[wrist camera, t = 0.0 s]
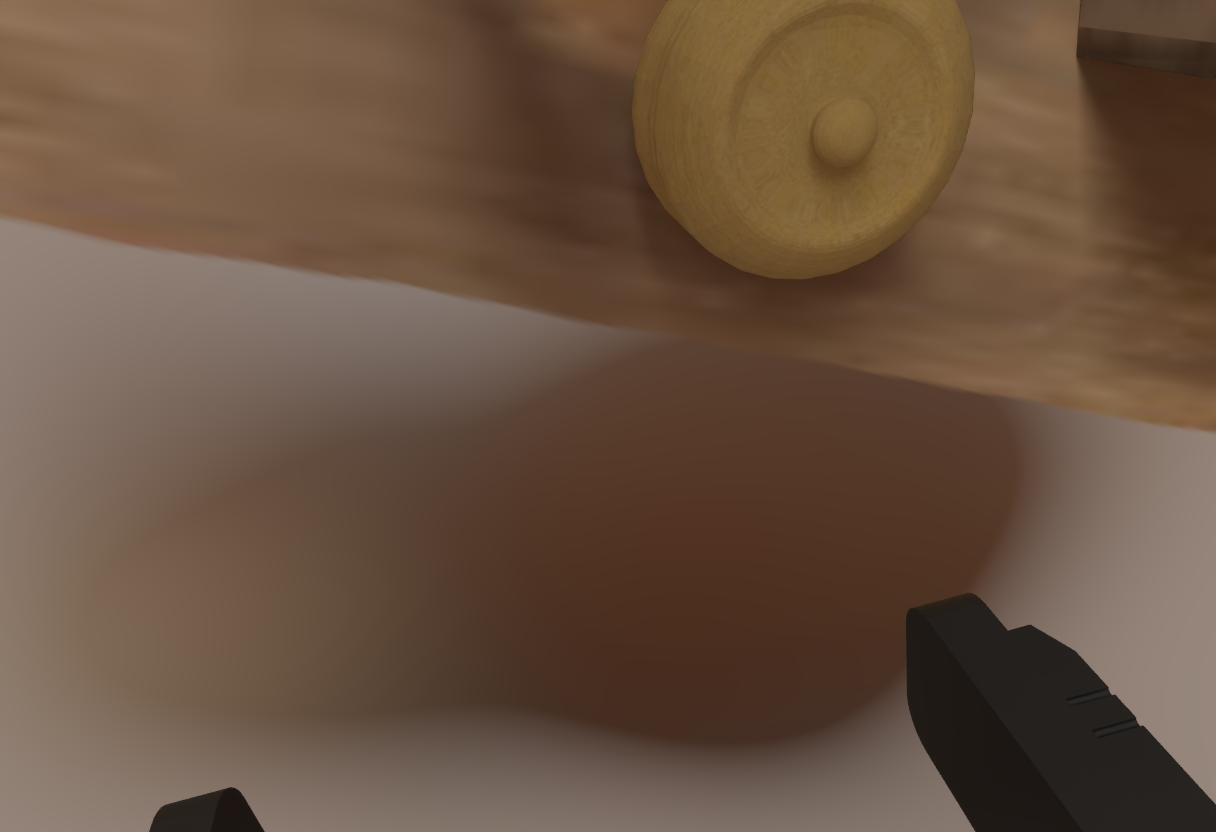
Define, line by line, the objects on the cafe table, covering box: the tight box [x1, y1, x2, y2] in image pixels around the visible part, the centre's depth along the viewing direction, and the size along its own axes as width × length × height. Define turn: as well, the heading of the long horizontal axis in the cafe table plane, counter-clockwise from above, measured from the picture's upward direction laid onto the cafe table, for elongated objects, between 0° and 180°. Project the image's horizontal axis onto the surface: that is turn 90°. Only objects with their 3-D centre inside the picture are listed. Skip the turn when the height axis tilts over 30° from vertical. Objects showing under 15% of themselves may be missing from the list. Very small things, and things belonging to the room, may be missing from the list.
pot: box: [632, 0, 975, 279], centre depth 32 cm, size 12×12×10 cm
